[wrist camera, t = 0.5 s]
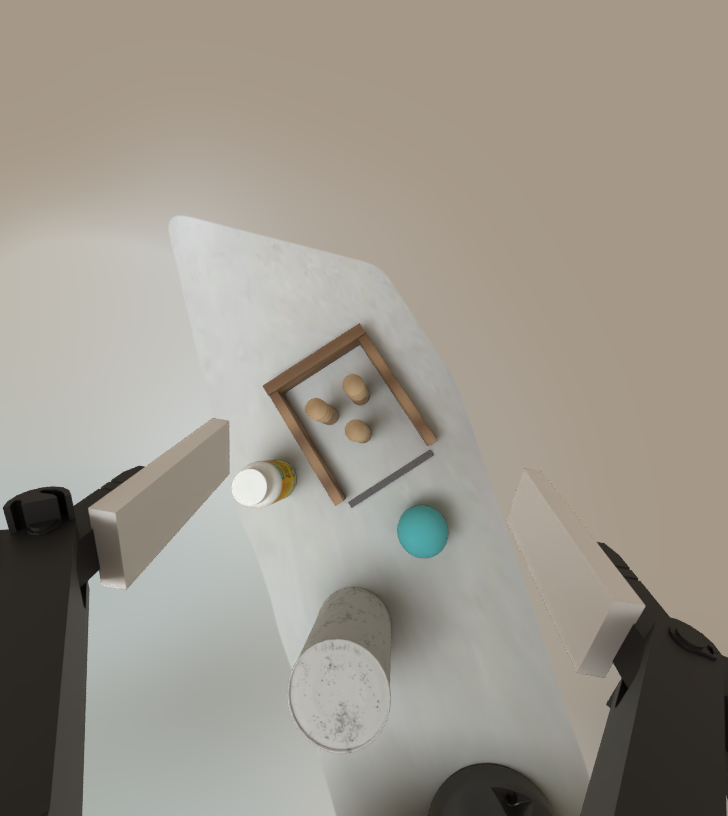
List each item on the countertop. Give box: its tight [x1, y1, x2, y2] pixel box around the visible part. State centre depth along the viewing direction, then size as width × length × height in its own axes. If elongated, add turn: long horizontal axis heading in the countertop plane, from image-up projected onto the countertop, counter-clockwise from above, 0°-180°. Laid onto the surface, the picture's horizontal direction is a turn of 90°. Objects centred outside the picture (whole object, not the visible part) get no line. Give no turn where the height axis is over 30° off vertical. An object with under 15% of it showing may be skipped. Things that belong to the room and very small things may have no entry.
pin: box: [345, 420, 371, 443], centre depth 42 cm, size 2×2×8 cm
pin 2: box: [343, 374, 369, 405], centre depth 43 cm, size 2×2×8 cm
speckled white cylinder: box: [287, 587, 392, 754], centre depth 37 cm, size 10×10×12 cm
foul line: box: [348, 450, 433, 508], centre depth 45 cm, size 1×13×1 cm, turn 123°
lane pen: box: [263, 323, 437, 506], centre depth 45 cm, size 18×15×3 cm
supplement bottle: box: [232, 460, 296, 508], centre depth 42 cm, size 5×5×10 cm
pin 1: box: [305, 398, 338, 425], centre depth 43 cm, size 2×2×8 cm
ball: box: [397, 505, 448, 558], centre depth 41 cm, size 6×6×6 cm
